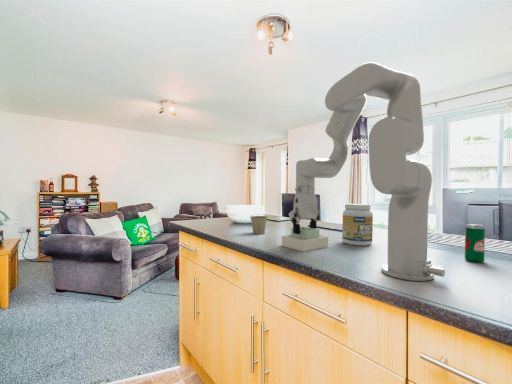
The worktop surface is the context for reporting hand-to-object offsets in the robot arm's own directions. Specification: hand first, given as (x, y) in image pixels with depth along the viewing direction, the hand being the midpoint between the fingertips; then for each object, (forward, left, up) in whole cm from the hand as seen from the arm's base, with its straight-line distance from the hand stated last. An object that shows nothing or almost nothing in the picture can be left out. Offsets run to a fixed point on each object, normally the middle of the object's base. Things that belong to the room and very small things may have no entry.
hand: (304, 232), depth 109 cm
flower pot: (+35, -3, -6) cm, 36 cm away
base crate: (0, 0, -6) cm, 6 cm away
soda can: (-48, -29, -6) cm, 56 cm away
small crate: (0, 0, -5) cm, 5 cm away
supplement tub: (-9, -23, -6) cm, 25 cm away
